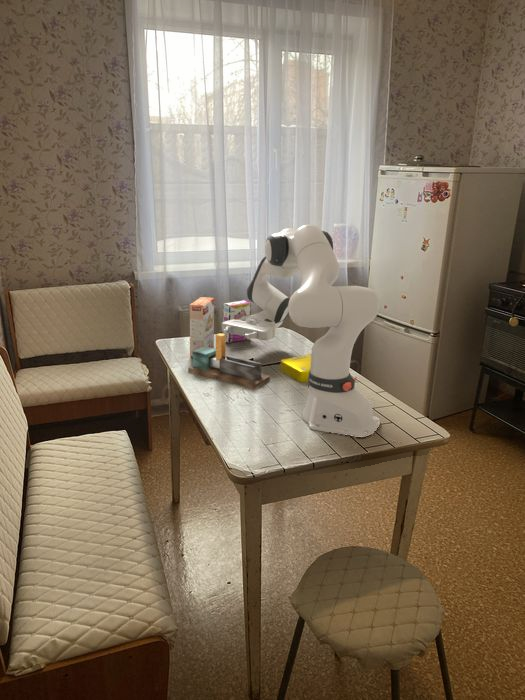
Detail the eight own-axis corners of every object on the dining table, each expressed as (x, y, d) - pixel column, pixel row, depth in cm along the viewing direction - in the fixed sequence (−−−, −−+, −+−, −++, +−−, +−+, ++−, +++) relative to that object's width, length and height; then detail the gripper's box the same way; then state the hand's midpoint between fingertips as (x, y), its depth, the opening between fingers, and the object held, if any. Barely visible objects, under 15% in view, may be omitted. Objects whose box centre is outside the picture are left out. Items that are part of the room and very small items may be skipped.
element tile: (311, 364, 199) (311, 352, 197) (336, 376, 187) (337, 364, 185) (278, 370, 191) (278, 358, 190) (302, 384, 179) (302, 371, 178)
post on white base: (232, 368, 184) (232, 335, 180) (227, 370, 182) (227, 337, 178) (205, 361, 190) (204, 329, 186) (200, 363, 188) (199, 331, 184)
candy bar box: (229, 344, 218) (229, 305, 213) (222, 341, 222) (222, 303, 217) (250, 339, 225) (251, 302, 220) (243, 336, 229) (244, 299, 223)
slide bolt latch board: (269, 379, 181) (270, 359, 179) (254, 389, 173) (254, 367, 171) (205, 363, 195) (205, 344, 192) (188, 371, 187) (187, 351, 184)
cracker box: (204, 358, 200) (203, 305, 194) (189, 357, 201) (188, 304, 195) (215, 347, 213) (214, 297, 207) (200, 346, 214) (200, 296, 208)
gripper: (233, 313, 205) (212, 321, 194) (278, 322, 195) (259, 331, 184) (233, 329, 207) (212, 337, 196) (278, 338, 197) (258, 348, 186)
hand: (235, 334), depth 190 cm, fingers open, 8 cm apart
